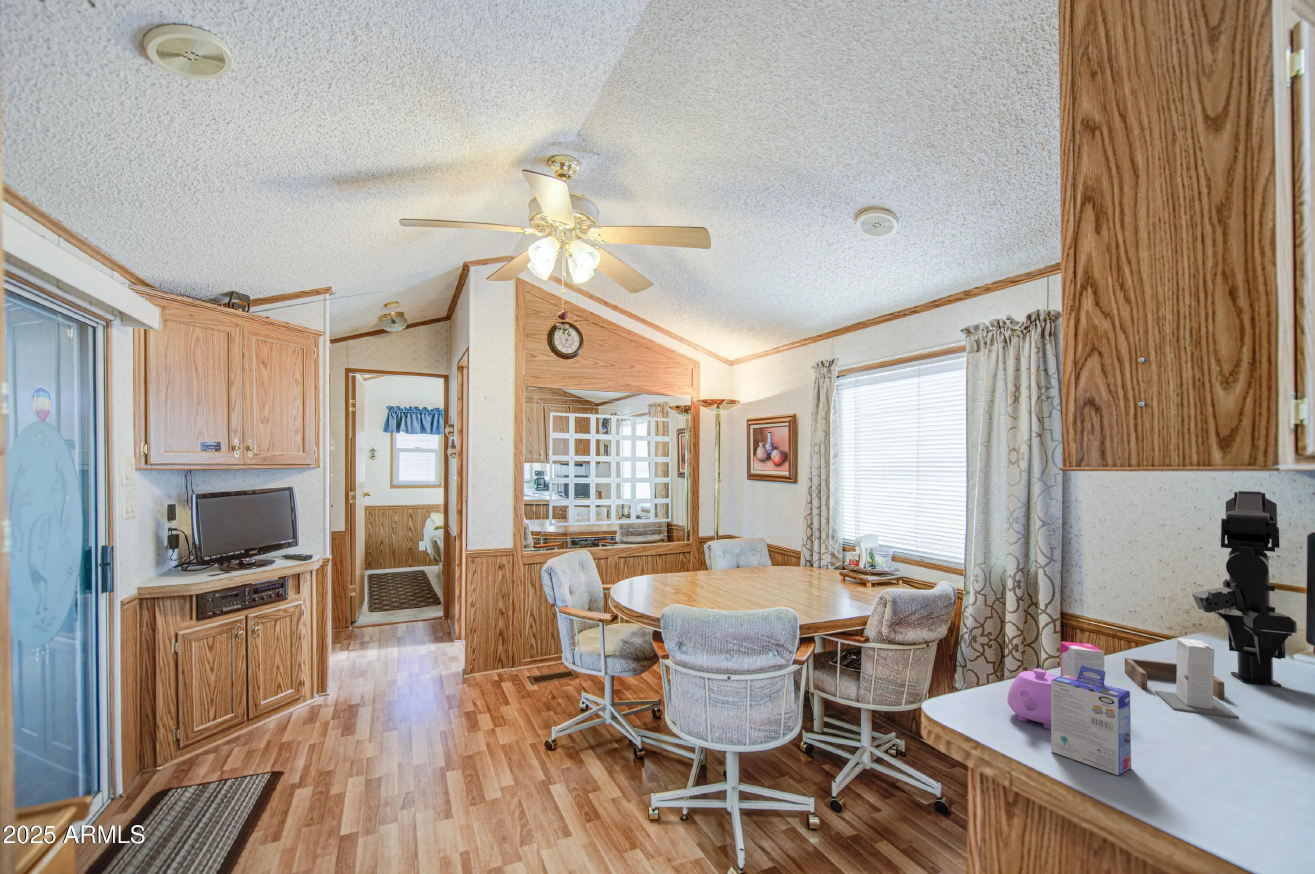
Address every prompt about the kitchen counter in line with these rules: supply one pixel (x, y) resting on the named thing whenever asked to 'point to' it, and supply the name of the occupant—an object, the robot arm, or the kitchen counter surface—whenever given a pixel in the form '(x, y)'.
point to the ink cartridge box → (1091, 721)
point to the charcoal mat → (1181, 706)
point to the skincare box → (1195, 673)
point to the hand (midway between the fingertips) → (1250, 656)
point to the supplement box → (1080, 659)
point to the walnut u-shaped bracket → (1161, 674)
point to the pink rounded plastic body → (1032, 696)
